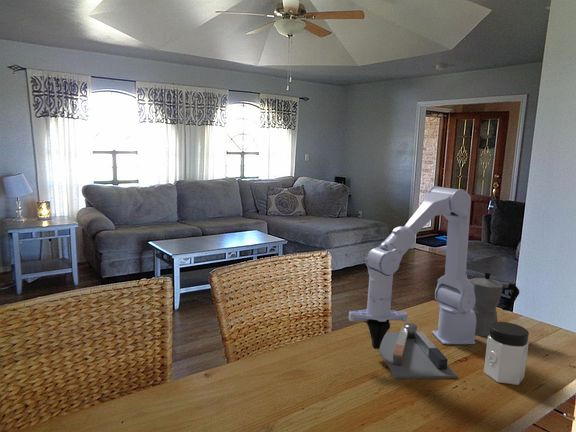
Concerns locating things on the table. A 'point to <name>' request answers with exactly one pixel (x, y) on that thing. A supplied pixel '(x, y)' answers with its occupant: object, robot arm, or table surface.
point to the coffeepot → (489, 301)
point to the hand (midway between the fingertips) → (375, 347)
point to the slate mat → (411, 360)
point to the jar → (506, 352)
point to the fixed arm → (431, 350)
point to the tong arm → (403, 342)
